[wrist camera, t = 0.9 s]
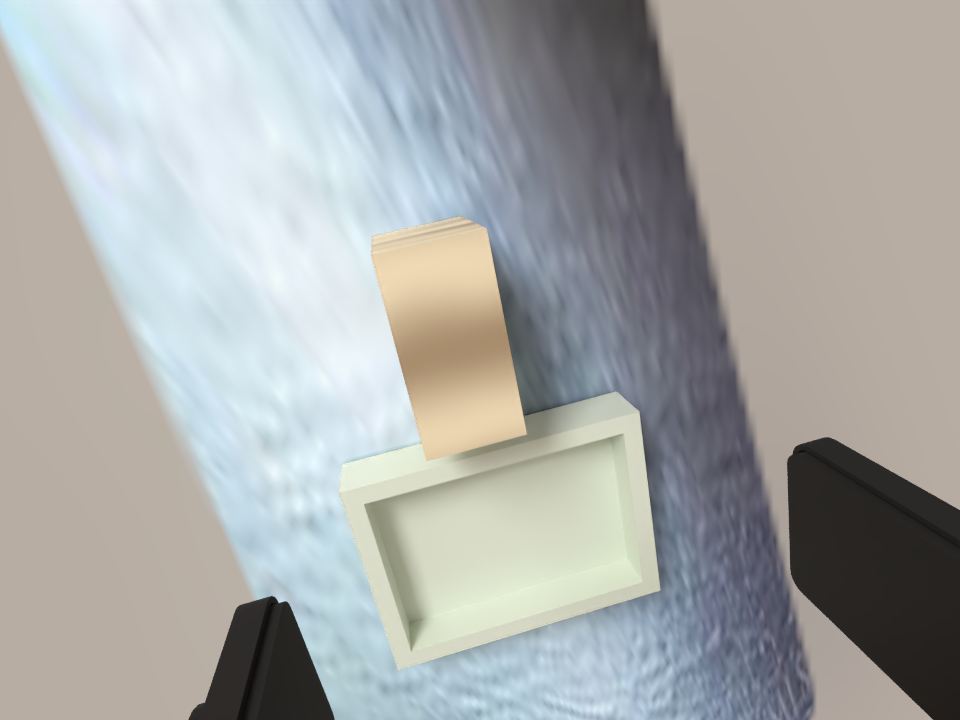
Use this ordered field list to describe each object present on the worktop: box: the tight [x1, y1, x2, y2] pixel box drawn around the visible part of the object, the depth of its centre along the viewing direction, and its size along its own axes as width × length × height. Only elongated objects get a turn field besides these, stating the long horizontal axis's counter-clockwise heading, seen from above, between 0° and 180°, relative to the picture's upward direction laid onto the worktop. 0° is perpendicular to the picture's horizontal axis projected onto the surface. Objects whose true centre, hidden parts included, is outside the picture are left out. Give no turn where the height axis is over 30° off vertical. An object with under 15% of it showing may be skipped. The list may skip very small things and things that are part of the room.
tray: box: [339, 391, 660, 670], centre depth 33 cm, size 12×16×3 cm
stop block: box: [371, 216, 527, 461], centre depth 26 cm, size 9×4×7 cm, turn 12°
